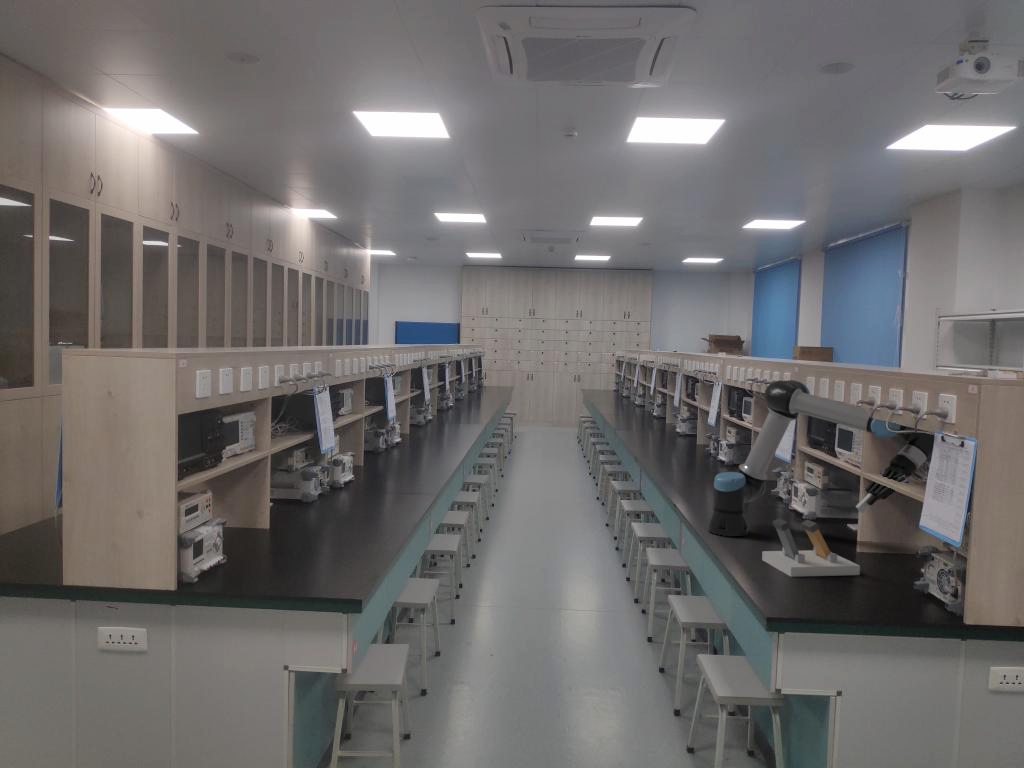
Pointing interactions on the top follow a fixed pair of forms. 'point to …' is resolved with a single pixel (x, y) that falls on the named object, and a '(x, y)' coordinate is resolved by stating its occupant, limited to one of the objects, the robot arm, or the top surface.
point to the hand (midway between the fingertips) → (859, 509)
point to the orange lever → (816, 538)
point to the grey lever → (786, 537)
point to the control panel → (810, 564)
